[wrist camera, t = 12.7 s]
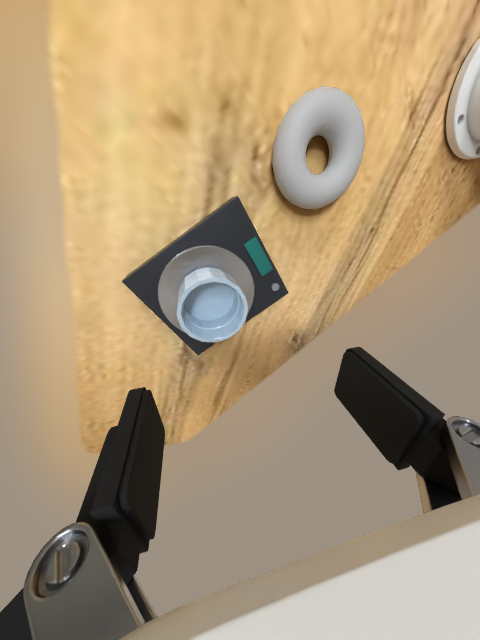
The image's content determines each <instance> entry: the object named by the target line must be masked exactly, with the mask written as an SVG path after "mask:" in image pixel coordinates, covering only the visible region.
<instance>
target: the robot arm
mask: <svg viewBox="0 0 480 640" xmlns="http://www.w3.org/2000/svg"><path fill="white" fill-rule="evenodd" d="M446 134H447V140H448V143H449V146H450V148H451V150H452V151H453V153H454V154H455V155H456V156H458V157H459V158H462V159H465V160H468V159H476V158H480V37H479V39H478V40H477V41H476V43H475V44H474V46H473V47H472V49H471V50H470V52H469V54H468V55H467V57H466V59H465V61H464V63H463V65H462V67H461V69H460V71H459V73H458V76H457V78H456V81H455V83H454V86H453V89H452V92H451V96H450V100H449V103H448V110H447V116H446ZM334 391H335V394H336V396H337V398H338V399H339V400H340V401H341V403H342V404H343V405H344V407H345V408H346V409H347V410H348V411H349V413H350V414H351V415H352V417H353V418H354V419H355V420H356V422H357V423H358V424H359V425H360V427H361V428H362V429H363V430H364V432H365V433H366V434H367V436H368V437H369V438H370V439H371V440H372V442H373V443H374V444H375V446H376V447H377V448H378V449H379V451H380V452H381V453H382V454H383V456H384V457H385V458H386V459H387V460H388V461H389V462H390V463H393V464H394V466H395V467H396V468H397V469H398V470H401V469H404V468H407V467H409V466H410V465H411V466H412V467H413V468H414V469H415V471H416V476H417V481H418V487H419V491H420V497H421V502H422V507H423V512H424V514H422V515H419V516H416V517H414V518H411V519H408V520H405V521H403V522H400V523H397V524H394V525H392V526H389V527H386V528H384V529H381V530H378V531H376V532H373V533H370V534H368V535H365V536H362V537H360V538H357V539H354V540H351V541H349V542H346V543H344V544H341V545H338V546H335V547H333V548H330V549H328V550H325V551H322V552H320V553H317V554H314V555H312V556H309V557H306V558H304V559H301V560H298V561H296V562H293V563H291V564H288V565H285V566H283V567H280V568H277V569H275V570H272V571H269V572H267V573H264V574H261V575H259V576H256V577H254V578H251V579H248V580H246V581H243V582H241V583H238V584H235V585H233V586H230V587H228V588H225V589H223V590H220V591H218V592H215V593H213V594H210V595H208V596H205V597H203V598H200V599H198V600H196V601H193V602H191V603H188V604H186V605H183V606H181V607H179V608H176V609H174V610H172V611H170V612H168V613H166V614H163V615H161V616H159V617H158V616H157V614H156V612H155V610H154V608H153V607H152V605H151V603H150V601H149V599H148V597H147V596H146V594H145V592H144V590H143V588H142V586H141V585H140V583H139V581H138V579H137V578H136V576H135V573H136V571H137V568H138V560H139V554H140V553H143V552H146V551H148V547H149V540H150V539H153V538H154V536H155V530H156V520H157V510H158V500H159V490H160V480H161V469H162V460H163V450H164V440H165V430H164V426H163V423H162V420H161V418H160V415H159V412H158V409H157V406H156V404H155V401H154V398H153V395H152V392H151V390H146V388H145V387H143V388H138V389H133V390H130V391H129V393H128V395H127V398H126V402H125V405H124V408H123V411H122V414H121V417H120V420H119V423H118V426H115V427H112V428H111V429H110V430H109V432H108V434H107V436H106V439H105V442H104V445H103V447H102V450H101V453H100V456H99V459H98V461H97V464H96V467H95V470H94V473H93V476H92V478H91V481H90V484H89V487H88V490H87V492H86V495H85V498H84V501H83V504H82V507H81V510H80V512H79V515H78V518H77V521H76V523H73V524H71V525H69V526H67V527H66V528H63V529H62V530H61V531H59V532H58V533H57V534H55V535H54V536H53V537H52V538H51V539H50V540H49V541H48V542H47V543H46V545H45V546H44V547H43V548H42V549H41V551H40V552H39V554H38V555H37V557H36V558H35V560H34V561H33V563H32V566H31V567H30V569H29V571H28V573H27V577H26V580H25V584H24V588H23V589H22V590H21V591H20V592H19V593H18V594H17V595H16V596H15V598H14V599H13V600H12V601H11V602H10V603H9V604H8V605H7V606H6V607H5V608H4V609H3V610H2V611H1V612H0V640H480V424H479V423H477V422H475V421H473V420H470V419H467V418H464V417H459V416H452V417H450V418H448V419H447V421H445V420H444V419H443V417H444V415H445V414H444V413H443V412H441V411H440V410H439V409H438V408H436V407H435V406H434V405H433V404H431V403H430V402H429V401H427V400H426V399H425V398H424V397H422V396H421V395H420V394H419V393H417V392H416V391H415V390H414V389H412V388H411V387H410V386H409V385H407V384H406V383H405V382H404V381H402V380H401V379H400V378H399V377H397V376H396V375H395V374H394V373H392V372H391V371H390V370H389V369H387V368H386V367H385V366H384V365H382V364H381V363H380V362H379V361H377V360H376V359H375V358H374V357H372V356H371V355H370V354H369V353H367V352H366V351H365V350H363V349H362V348H361V347H355V348H350V349H347V350H346V352H345V353H344V355H343V358H342V362H341V366H340V370H339V374H338V378H337V382H336V385H335V390H334Z"/></svg>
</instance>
